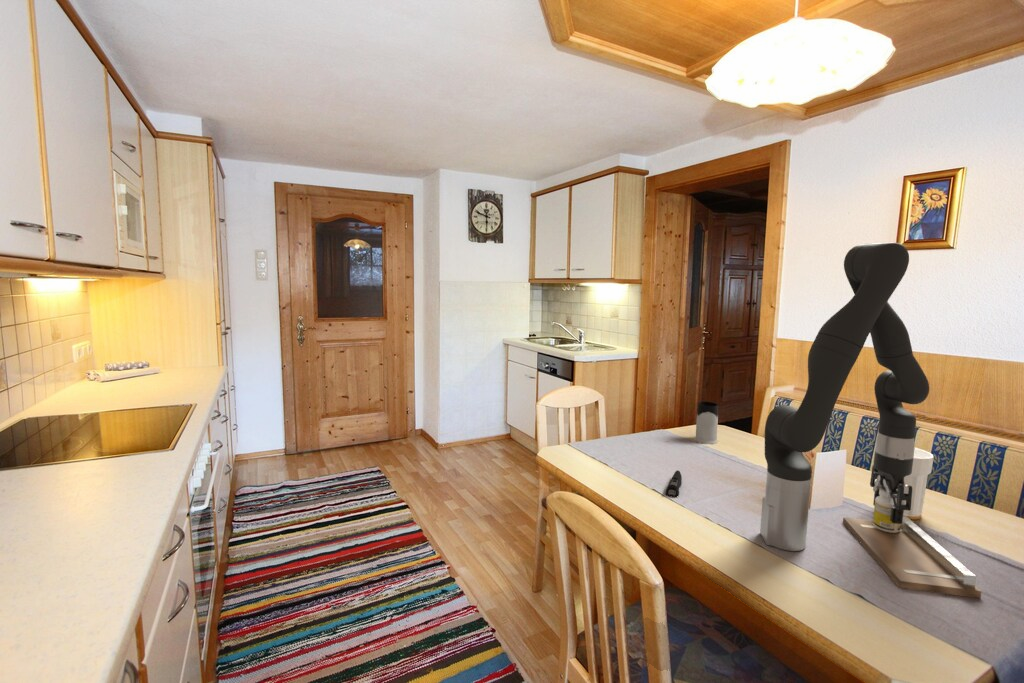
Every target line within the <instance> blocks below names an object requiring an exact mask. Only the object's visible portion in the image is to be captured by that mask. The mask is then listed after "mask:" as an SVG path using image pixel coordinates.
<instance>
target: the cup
mask: <svg viewBox="0 0 1024 683" xmlns="http://www.w3.org/2000/svg"><path fill="white" fill-rule="evenodd" d="M934 459H935V458H934V454H932V453H931V452H929V451H927V450H924V449H921V448H918V447H915V449H914V458H913V466H912V473H911V474H910V475H908V476H905V477H904V483H905V485H910V486H912V500H911V510H910V511H908V510H904V512H903V516H906V517H908V518H909V519H910V520H911V519H912V520H918V519H921V518H922V515H923V514H922V513H923V509H924V507H923V506H924V504H925V502H924V501H925V496H926V489H927V483H928V476H929V474H932V469H933V462H934ZM905 504H906V500H905Z"/></svg>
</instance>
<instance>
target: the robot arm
mask: <svg viewBox="0 0 1024 683" xmlns="http://www.w3.org/2000/svg"><path fill="white" fill-rule="evenodd" d="M909 263H910V254H909V251H908V249H907V247H906V246H905V245H903V244H902V243H899V242H891V241H889V242H875V243H874V242H873V243H864V244H859V245H855V246H853V247H852V248H851V249H849V250H848V252H847V253H846V254H845V257H844V260H843V270H844V274H845V277H846V278H847V281H848V283H849V285H850V288H851V290H852V292H853V294H854V295H853V296H852V298H851V299H850V300H849V301H848V302H847V303H846V304H845V305H843V307H841V308H840V309H839V310H838V311H837V312H835V313H834V314H833V315H832V316H831V317H830V318H829V319H827V320H826V321H825V322H824V323H823V324H822V325H821V328H820V329H819V330H818V332H817V334H816V336H815V338H814V341H813V343H812V344H811V347H810V349H809V352H808V356H807V375H808V378H807V380H808V382H807V389H806V392H805V395H804V396H803V399H802V401H801V402H800V405H799V406H798V408H797V407H794V406H790V405H786V404H784V405H783V404H782V405H779V406H775V407H774V408H773V409H772V410H771V411H770V412H769V414H768V415H767V417H766V420H765V426H764V458H765V461H766V465H767V468H766V469H767V470H766V483H765V496H763V497H762V501H761V502H762V503H761V513H760V514H761V518H760V529H759V530H760V532H759V533H760V536H762V539H763V541H764V542H765V545H768V546H772V547H775V548H778V549H779V550H784V551H789V552H797V551H803V550H804V549H805V548H806V546H807V539H808V538H807V534H808V521H809V510H810V509H809V508H810V499H811V498H810V496H811V489H812V488H811V485H812V475H813V474H812V473H813V468H812V465H811V464H810V462H809V461H808V459H806V457H805V455H804V453H809V452H811V451H813V450H814V449H815V448H816V447H817V446H818V445H819V444H820V443H821V441H822V439H823V438H824V435H825V433H826V430H827V427H828V425H829V422H830V419H831V416H832V414H833V411H834V409H835V406H836V403H837V401H838V398H839V397H840V394H841V392H842V390H843V388H844V385H845V383H846V380H847V379H848V377H849V375H850V373H851V370H852V368H853V367H854V365H855V364H856V362H857V360H858V358H859V356H860V354H861V352H862V349H863V347H864V345H865V343H866V341H867V339H868V336H869V334H870V337H871V341H872V345H873V346H872V347H873V351H874V354H875V358H876V359H875V360H876V362H877V363H878V364H879V365H880V366H882V367H883V368H886V369H887V370H884V371H883V372H881V373H880V374H879V375H878V376H877V378H876V380H875V382H874V395H875V401H876V405H877V410H878V415H879V422H878V428H877V429H878V431H877V434H876V439H875V444H874V445H875V446H874V455H873V456H874V457H873V465H872V468H871V474H870V482H869V485H870V487H871V488H872V491H873V492H874V495H873V503H872V505H873V506H874V507H875V498H876V497H878V496H880V495H879V489H880V488H882V489H883V490H885V491H886V492H887V496H888V498H889V499H890V500H891V504H892V509H891V518H890V521H891V522H892V523H895V524H902V520H903V512H904V510H908V511H910V510H911V500H912V486H910V485H905V483H904V477H905V476H908V475H910V474H911V473H912V466H913V458H914V449H915V448H916V447H915V446H916V444H915V436H916V428H917V418H916V416H915V414H913V413H912V412H910V411H908V410H907V409H905V408H904V406H903V403H904V404H908V405H919V404H921V403H924V401H926V399H927V398H928V396H929V393H930V383H929V380H928V377H927V376H926V374H925V372H924V370H923V369H922V367H921V366H920V364H919V362H918V360H917V359H916V357H915V355H914V353H913V348H912V343H911V339H910V335H909V332H908V329H907V327H906V325H905V322H903V320H902V319H901V317H900V316H899V315H898V313H897V312H896V311H895V309H894V308H893V307H892V306H891V305H890V303H889V302H888V301H889V299H891V296H892V295H893V293H894V292H895V291H896V289H897V287H898V286H899V285H900V283H901V282H902V280H903V279H904V278H903V277H904V276H905V274H906V272H907V270H908V267H909ZM893 494H897V495H893ZM895 499H897V501H896V500H895ZM905 500H906V504H905Z"/></svg>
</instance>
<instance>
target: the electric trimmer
mask: <svg viewBox="0 0 1024 683" xmlns="http://www.w3.org/2000/svg"><path fill="white" fill-rule="evenodd" d="M682 478H683V477H682V473H681V471H680V470H676V471H675V472H673V475H672V477H671V478H670V480H669V483H668V485H667V487H666V489H665V495H666V496H667V497H670V496H672V497H671V498H675V497H676V498H678V497H679V495H680V487H681V486H682V483H683V482H682V481H683V479H682ZM677 496H678V497H677Z"/></svg>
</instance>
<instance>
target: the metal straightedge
mask: <svg viewBox="0 0 1024 683" xmlns="http://www.w3.org/2000/svg"><path fill="white" fill-rule="evenodd" d="M900 529H902V530H903V531H904V532H905V533H906V534H907V535H908V536H909V537H910V538H911V539H912V540H913V541H914V542H916V543H917V544H918V545H919V546H920V547H921V548H922V549H923V550H924V551H925V552H926V553H928V554H929V555H930V556H931V557H932V558H933V559H934V560H935V561H936V562H937V563H938V564H939V565H941V566H942V567H943V568H944V569H945V570H946V571H947V572H948V573H949V574H950V575H952V576H953V577H954V578H955V579H956V580H957V581H958V582H959V583H960V584H961V585H962V586H964V587H972V588H975V586H976V583H977V578H978V577H977V575H976V574H975V573H973V572H972V571H971V570H970V569H968V568H967V567H966V566H965V565H964V564H962V562H961V561H959V560H958V559H957V558H956V557H954V555H952V554H951V553H950V552H948V550H946V548H944V547H943V546H941V544H939V543H938V542H937V541H936V540H934V538H932V537H931V536H930V535H929V534H928V533H926V531H924V530H923V529H922V528H921V527H919V526H918V525H917V524H916V523H914V521H913V520H911V519H909V518H908V517H906V516H903V520H902V524H901V527H900Z"/></svg>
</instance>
